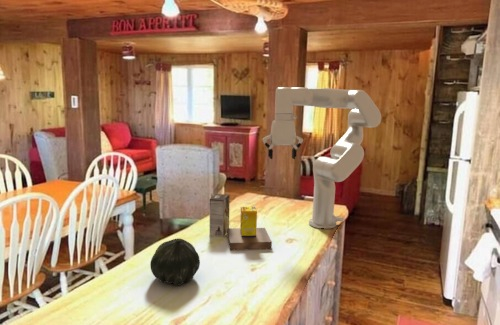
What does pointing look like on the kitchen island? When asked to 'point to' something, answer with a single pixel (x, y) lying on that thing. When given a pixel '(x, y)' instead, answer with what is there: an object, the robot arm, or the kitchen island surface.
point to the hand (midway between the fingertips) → (282, 158)
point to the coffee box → (219, 215)
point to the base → (248, 240)
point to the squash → (175, 262)
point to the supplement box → (248, 222)
